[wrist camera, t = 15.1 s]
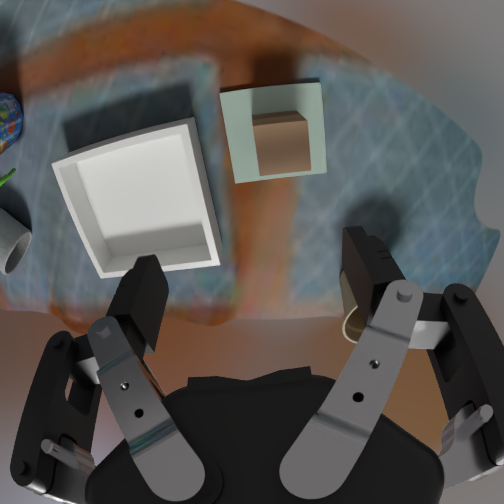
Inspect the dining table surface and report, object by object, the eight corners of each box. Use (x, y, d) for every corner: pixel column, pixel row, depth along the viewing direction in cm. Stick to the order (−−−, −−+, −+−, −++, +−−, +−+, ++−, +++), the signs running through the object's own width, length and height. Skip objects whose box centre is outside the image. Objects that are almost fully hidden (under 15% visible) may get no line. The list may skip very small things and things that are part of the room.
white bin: (68, 152, 29) (51, 163, 26) (194, 116, 28) (187, 123, 25) (111, 259, 38) (101, 278, 35) (222, 245, 37) (220, 264, 34)
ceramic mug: (0, 194, 31) (-31, 221, 25) (36, 221, 34) (7, 253, 28) (-7, 240, 36) (-31, 268, 30) (26, 265, 39) (4, 296, 33)
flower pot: (396, 281, 41) (418, 323, 34) (342, 308, 44) (356, 353, 37) (378, 237, 37) (404, 279, 30) (317, 269, 40) (330, 317, 33)
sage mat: (220, 93, 27) (219, 93, 26) (319, 82, 26) (320, 82, 25) (235, 181, 32) (235, 183, 32) (325, 171, 32) (326, 172, 31)
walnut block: (251, 115, 28) (252, 126, 23) (296, 110, 27) (307, 120, 22) (257, 156, 30) (259, 176, 25) (300, 151, 30) (311, 170, 25)
